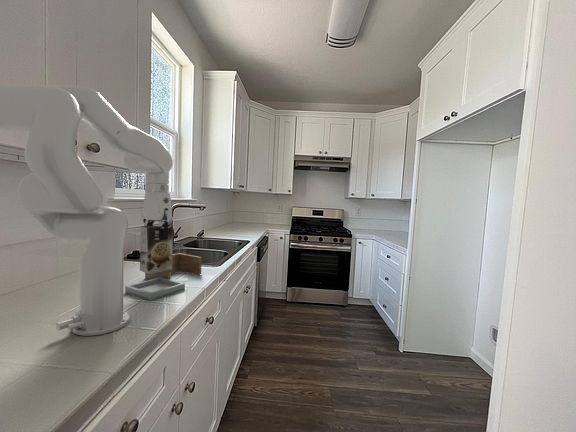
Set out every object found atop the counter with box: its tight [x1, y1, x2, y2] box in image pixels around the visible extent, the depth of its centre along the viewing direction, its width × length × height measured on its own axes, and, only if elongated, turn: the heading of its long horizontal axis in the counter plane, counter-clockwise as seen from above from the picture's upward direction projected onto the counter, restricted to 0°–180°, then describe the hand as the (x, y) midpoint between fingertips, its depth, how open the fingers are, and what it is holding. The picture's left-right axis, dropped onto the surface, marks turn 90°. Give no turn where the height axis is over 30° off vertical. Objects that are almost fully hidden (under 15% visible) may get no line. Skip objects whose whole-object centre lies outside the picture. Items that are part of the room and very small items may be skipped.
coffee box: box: [139, 225, 174, 274], centre depth 98 cm, size 9×6×16 cm
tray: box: [124, 277, 186, 302], centre depth 99 cm, size 14×14×2 cm
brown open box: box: [144, 252, 203, 280], centre depth 117 cm, size 17×14×8 cm
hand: (156, 238), depth 98 cm, fingers closed on coffee box, 6 cm apart
